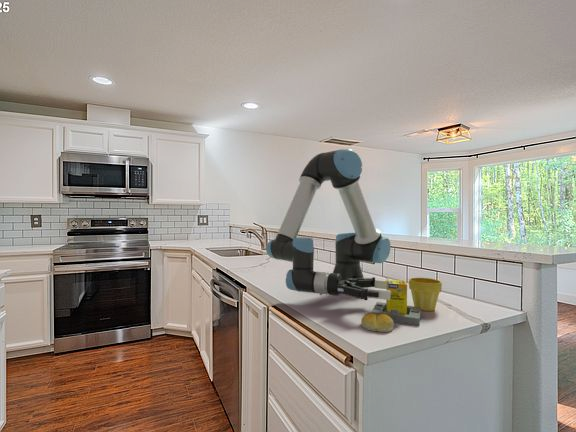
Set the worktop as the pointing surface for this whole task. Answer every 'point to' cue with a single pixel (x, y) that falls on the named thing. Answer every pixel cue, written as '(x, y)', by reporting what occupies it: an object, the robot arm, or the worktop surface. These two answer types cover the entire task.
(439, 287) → the plant pot
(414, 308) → the socket plate
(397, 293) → the supplement box
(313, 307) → the worktop surface
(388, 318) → the bread roll
